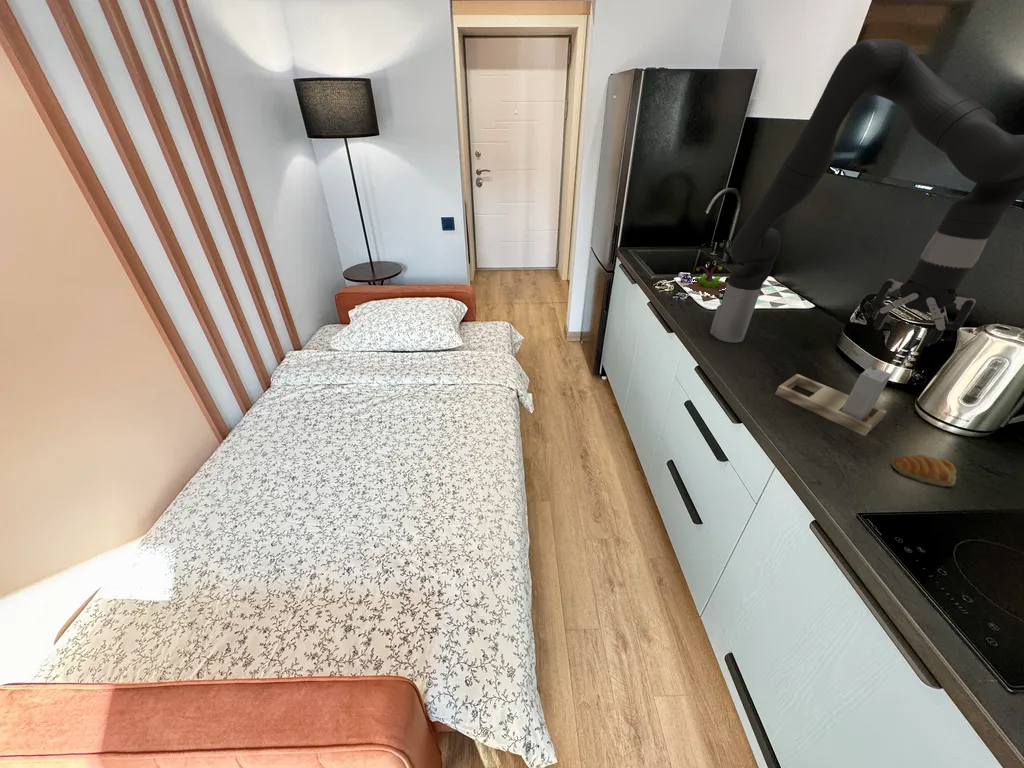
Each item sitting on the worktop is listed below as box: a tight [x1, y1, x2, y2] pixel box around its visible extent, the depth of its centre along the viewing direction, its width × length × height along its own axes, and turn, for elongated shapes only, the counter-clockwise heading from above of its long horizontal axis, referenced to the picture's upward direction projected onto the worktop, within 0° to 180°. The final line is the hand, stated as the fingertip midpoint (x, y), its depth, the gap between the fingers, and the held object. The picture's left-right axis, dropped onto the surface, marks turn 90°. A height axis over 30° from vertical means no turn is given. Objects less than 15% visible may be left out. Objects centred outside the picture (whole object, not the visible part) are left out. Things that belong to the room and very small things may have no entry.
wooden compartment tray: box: [774, 373, 888, 437], centre depth 103 cm, size 20×10×2 cm, turn 36°
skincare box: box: [841, 366, 892, 421], centre depth 96 cm, size 6×4×12 cm
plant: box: [688, 264, 727, 295], centre depth 163 cm, size 20×20×11 cm
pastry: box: [891, 454, 957, 487], centre depth 84 cm, size 9×7×4 cm
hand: (901, 336), depth 87 cm, fingers open, 8 cm apart
